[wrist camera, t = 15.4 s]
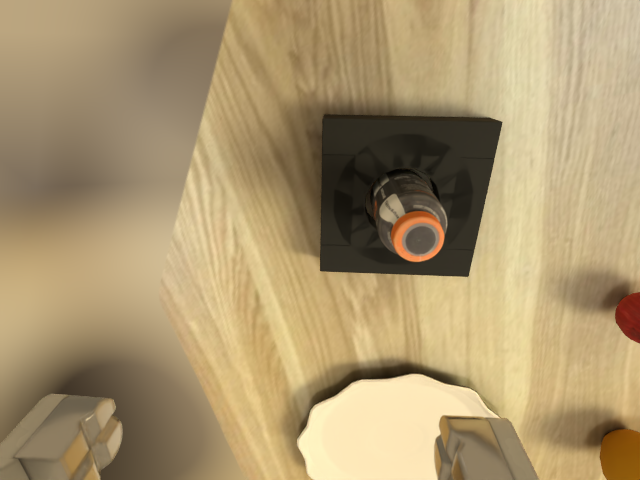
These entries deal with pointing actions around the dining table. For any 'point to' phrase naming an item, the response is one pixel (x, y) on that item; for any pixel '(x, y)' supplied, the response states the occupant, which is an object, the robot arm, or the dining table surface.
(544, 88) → the dining table surface
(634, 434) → the apple
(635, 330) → the onion
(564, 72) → the dining table surface
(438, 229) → the pill bottle
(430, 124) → the socket pad
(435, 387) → the plate
